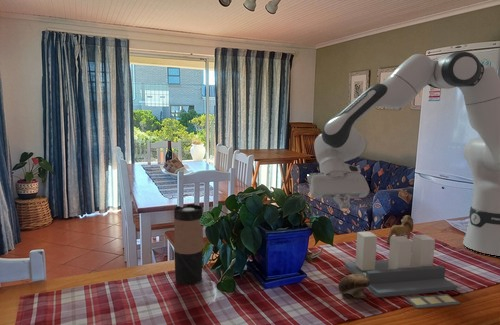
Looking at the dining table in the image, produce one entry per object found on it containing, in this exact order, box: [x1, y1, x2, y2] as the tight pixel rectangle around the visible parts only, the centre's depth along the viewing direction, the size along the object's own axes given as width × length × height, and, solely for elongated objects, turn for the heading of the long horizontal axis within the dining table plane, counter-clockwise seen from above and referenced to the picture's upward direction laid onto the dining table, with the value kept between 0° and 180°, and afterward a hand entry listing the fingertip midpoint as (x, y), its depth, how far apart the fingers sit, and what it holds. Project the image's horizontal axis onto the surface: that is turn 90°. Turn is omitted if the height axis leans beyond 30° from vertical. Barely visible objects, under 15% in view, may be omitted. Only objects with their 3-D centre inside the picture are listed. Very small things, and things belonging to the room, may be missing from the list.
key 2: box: [410, 234, 436, 268], centre depth 98 cm, size 4×4×10 cm
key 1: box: [354, 231, 378, 271], centre depth 99 cm, size 4×4×10 cm
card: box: [404, 293, 461, 310], centre depth 85 cm, size 12×4×1 cm, turn 101°
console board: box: [344, 259, 458, 298], centre depth 97 cm, size 23×18×4 cm
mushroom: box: [337, 273, 370, 299], centre depth 87 cm, size 8×8×6 cm
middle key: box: [388, 235, 413, 269], centre depth 96 cm, size 4×4×10 cm
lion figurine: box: [386, 214, 414, 244], centre depth 125 cm, size 15×5×9 cm, turn 133°
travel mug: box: [173, 204, 204, 286], centre depth 93 cm, size 8×8×20 cm
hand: (345, 207), depth 112 cm, fingers closed
